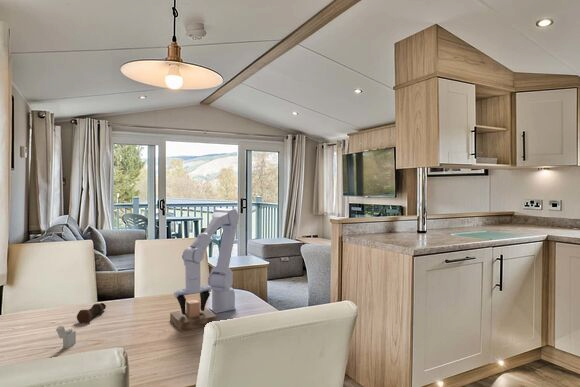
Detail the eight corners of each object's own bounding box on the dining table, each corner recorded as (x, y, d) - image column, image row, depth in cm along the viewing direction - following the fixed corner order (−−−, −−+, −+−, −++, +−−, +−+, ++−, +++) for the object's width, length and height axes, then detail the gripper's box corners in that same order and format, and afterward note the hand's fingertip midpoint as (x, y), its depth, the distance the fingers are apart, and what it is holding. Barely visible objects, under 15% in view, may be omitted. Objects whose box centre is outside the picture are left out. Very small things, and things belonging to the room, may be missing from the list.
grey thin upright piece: (71, 342, 127) (71, 319, 127) (76, 343, 127) (75, 319, 127) (56, 351, 120) (55, 327, 120) (60, 352, 120) (60, 327, 120)
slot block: (203, 313, 156) (203, 306, 156) (216, 323, 145) (216, 316, 144) (170, 320, 148) (170, 312, 148) (181, 331, 137) (181, 323, 137)
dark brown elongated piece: (104, 314, 160) (85, 326, 145) (94, 309, 160) (73, 320, 145) (111, 303, 160) (92, 313, 145) (101, 297, 160) (81, 307, 145)
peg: (196, 319, 149) (196, 299, 149) (199, 322, 146) (199, 302, 146) (186, 321, 147) (186, 301, 147) (189, 324, 144) (189, 304, 144)
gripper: (206, 273, 153) (206, 306, 154) (171, 278, 145) (171, 312, 146) (213, 276, 148) (213, 310, 148) (177, 282, 140) (177, 317, 140)
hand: (193, 312), depth 146 cm, fingers open, 7 cm apart
